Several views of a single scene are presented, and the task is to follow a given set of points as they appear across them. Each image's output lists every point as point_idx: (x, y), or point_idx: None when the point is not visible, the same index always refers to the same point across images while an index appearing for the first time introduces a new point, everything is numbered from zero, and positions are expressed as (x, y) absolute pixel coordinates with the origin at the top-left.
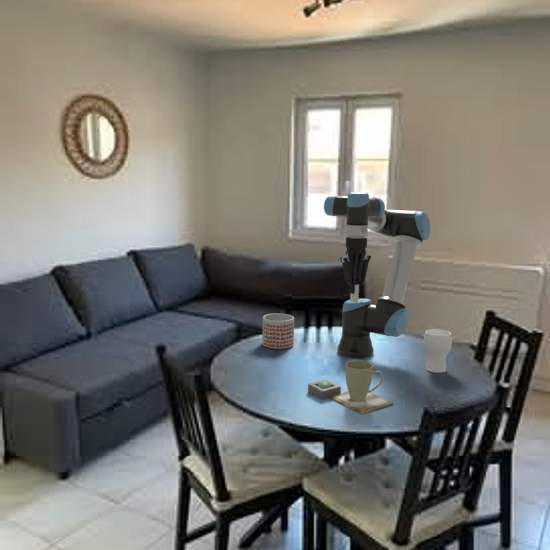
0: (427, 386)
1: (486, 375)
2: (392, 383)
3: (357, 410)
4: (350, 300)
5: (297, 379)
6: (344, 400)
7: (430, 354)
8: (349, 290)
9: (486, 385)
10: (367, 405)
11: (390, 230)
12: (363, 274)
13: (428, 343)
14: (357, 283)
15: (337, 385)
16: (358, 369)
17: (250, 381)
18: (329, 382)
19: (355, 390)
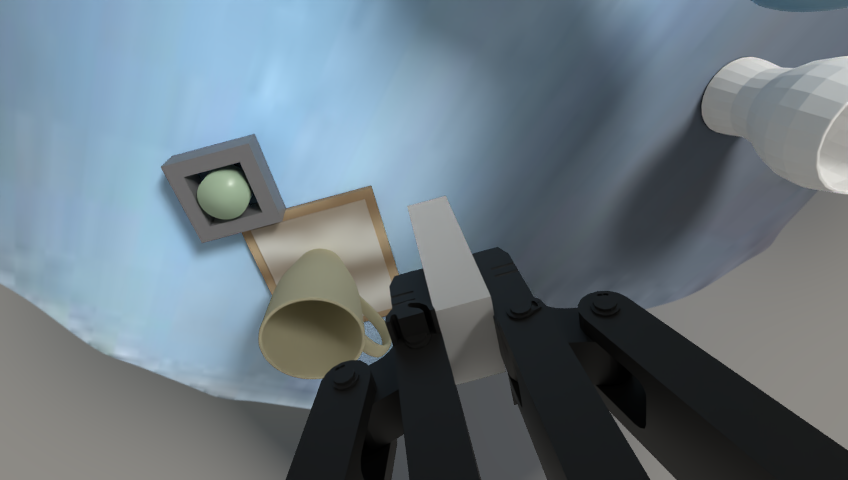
0: (588, 221)
1: (814, 194)
2: (505, 169)
3: None
4: (409, 214)
5: (151, 8)
6: (274, 269)
7: (748, 125)
8: (391, 295)
9: (737, 257)
10: None
11: None
12: (651, 450)
13: (773, 142)
14: (504, 360)
15: (273, 210)
16: (290, 375)
17: None
18: (246, 192)
19: (295, 313)
